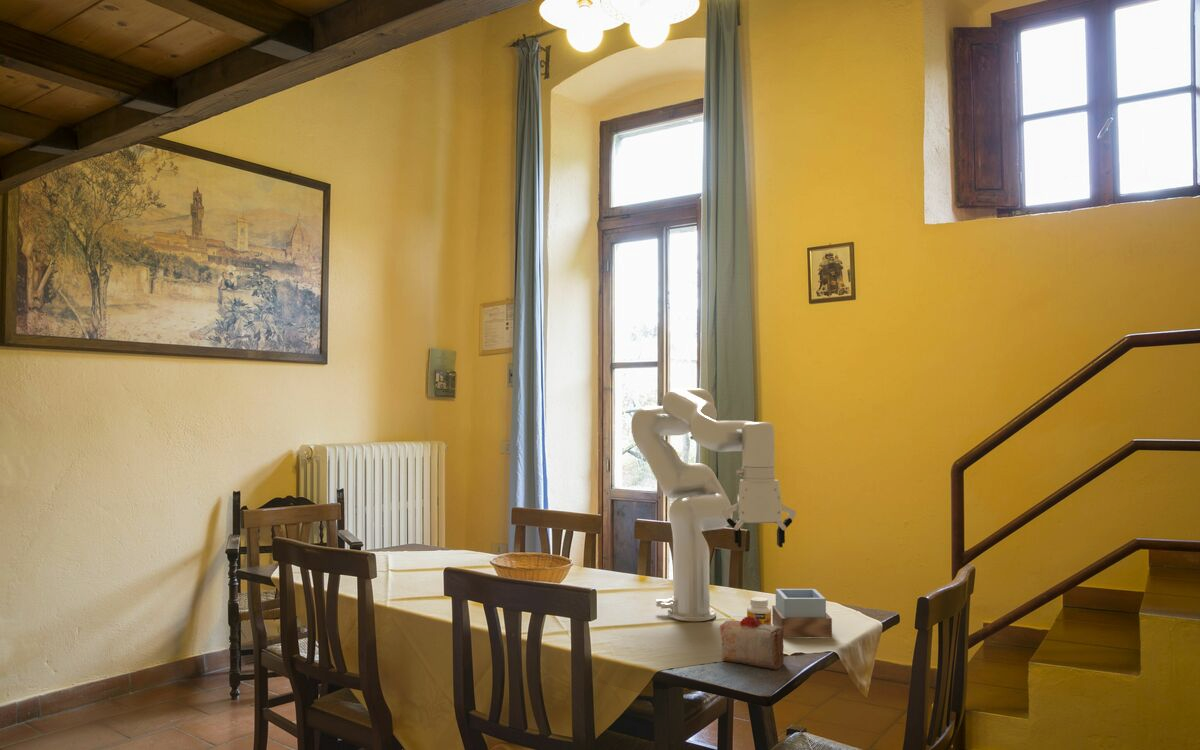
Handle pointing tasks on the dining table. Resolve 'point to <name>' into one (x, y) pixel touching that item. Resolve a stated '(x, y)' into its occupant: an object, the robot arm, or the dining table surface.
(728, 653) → the food item
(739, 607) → the dining table surface
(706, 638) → the dining table surface
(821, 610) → the tower top
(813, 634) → the tower base
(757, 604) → the supplement bottle
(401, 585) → the dining table surface
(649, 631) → the dining table surface
